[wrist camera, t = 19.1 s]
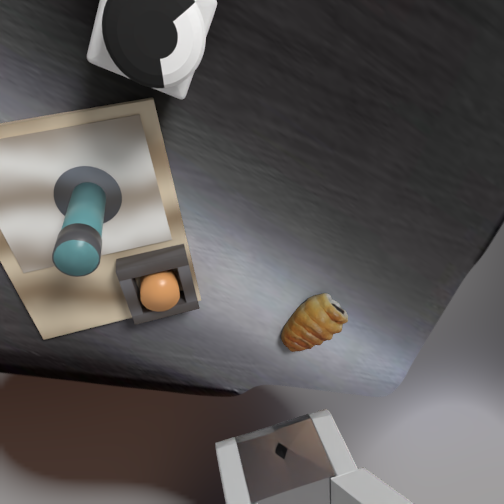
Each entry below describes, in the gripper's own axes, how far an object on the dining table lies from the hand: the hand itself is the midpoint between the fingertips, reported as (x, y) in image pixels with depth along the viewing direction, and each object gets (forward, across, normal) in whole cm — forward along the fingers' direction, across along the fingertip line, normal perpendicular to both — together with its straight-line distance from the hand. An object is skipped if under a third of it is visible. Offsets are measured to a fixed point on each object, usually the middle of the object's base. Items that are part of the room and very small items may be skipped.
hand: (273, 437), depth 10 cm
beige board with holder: (+33, +10, +9) cm, 36 cm away
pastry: (+34, -13, +29) cm, 46 cm away
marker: (+32, +9, +5) cm, 33 cm away
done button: (+32, +5, +16) cm, 36 cm away
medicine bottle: (+33, 0, -8) cm, 34 cm away
